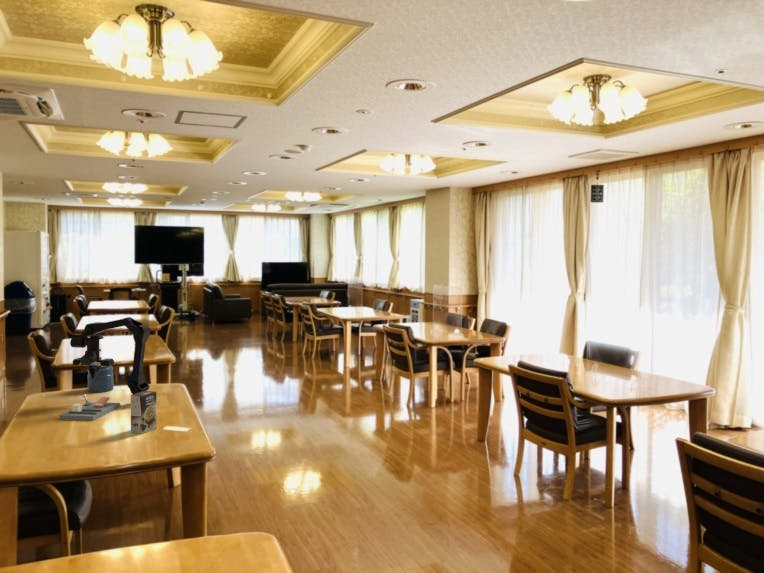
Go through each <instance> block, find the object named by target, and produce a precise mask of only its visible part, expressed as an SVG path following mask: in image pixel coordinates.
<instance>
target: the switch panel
mask: <svg viewBox="0 0 764 573" xmlns="http://www.w3.org/2000/svg"><path fill="white" fill-rule="evenodd" d="M96 402H97V401H88V402H87V403H86V402H85V403H83V404H82V411H80V412H75V411H72V409H70V410H68V411H66V412H63V413H61V414H59V415H58V416H59V417H58V420H61V419H69V420H68V421H89V422H90V421H92V422H94V421H96V420H98V419H99V418H101V417H103V416H105V415H107V414H109V413H111V412H114V411H116V410H117V409H119V408H121V403H120V402H107V403H106V404H105V405H104V406H103V407H94V405H95V404H96Z"/></svg>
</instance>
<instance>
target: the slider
mask: <svg viewBox="0 0 764 573" xmlns="http://www.w3.org/2000/svg"><path fill="white" fill-rule="evenodd" d="M82 405H83V404H82V403H74V404H72V405H71V410H72V411H75V412H80V411H82Z"/></svg>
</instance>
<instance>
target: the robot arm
mask: <svg viewBox="0 0 764 573" xmlns="http://www.w3.org/2000/svg"><path fill="white" fill-rule="evenodd" d="M119 327H126V329H127V330H128V331H129V332H131V333H132V338H133V341H134V351H133V362H132V369H131V373H128V374H127V376H126V378H127V379H126V384H127V385H126V386H127V387H128V389H129V390H130V391H129V392H130V393H131V395H133V394H136V393H139V392H143V391H150V385H149V384H148V382H146V381H145V380H146V378H145V373H144V370H143V368H144V361H145V353H146V352H145V351H146V343H147V341H148V339H149V338H150V333H151V327H150V326H149V325H147V324H144V323H142V322H141V321H139V320H136V319H134V318H132V317H130V316H128V317H127V316H126V317H124V318H120V319H115V320H111V321H105V322H102V321H99V322H98V321H97V322H96V321H94V322H90V323H87V324H85V326H84V327H83V328H84V329H83V331H82V332H81V333H73V334H72V337H71V338H70V342H69V344H70V347H71V348H83V349H84V348H86V350H84V354H83V355H81V357H76V358H73V360H72V365H73V366H79V365H80V366H83V367H84V368H86V369H88V370H89V372H90V374H91V377H92V379H95V378H96V375H97V373H98V371H99V369H100V367H101V366H110V365H111V366H112V365H114V364H115V360H114V359H113V358H104V359H103V358H102V357H101V356H100V355H101V354H100V353H101V352H102V349H101V348H100V340H103V339H105V338H104V336H102V335H101V334H99V333H103V332H105V331H107V330H110V329H115V328H119ZM96 334H97V335H96ZM101 358H102V359H103V360H100V359H101Z"/></svg>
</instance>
